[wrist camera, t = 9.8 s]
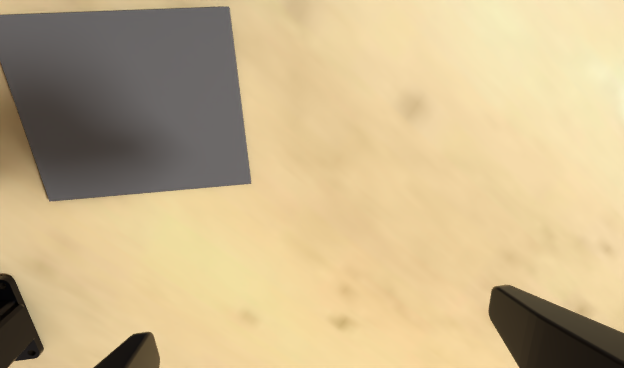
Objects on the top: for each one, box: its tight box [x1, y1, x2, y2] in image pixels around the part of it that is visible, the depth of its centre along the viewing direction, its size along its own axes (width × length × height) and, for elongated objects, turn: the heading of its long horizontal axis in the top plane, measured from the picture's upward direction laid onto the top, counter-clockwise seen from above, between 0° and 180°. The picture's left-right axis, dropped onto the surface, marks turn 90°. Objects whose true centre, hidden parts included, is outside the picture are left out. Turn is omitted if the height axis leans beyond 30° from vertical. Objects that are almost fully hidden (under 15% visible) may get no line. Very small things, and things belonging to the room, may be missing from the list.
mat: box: [0, 7, 251, 201], centre depth 18 cm, size 12×10×1 cm
